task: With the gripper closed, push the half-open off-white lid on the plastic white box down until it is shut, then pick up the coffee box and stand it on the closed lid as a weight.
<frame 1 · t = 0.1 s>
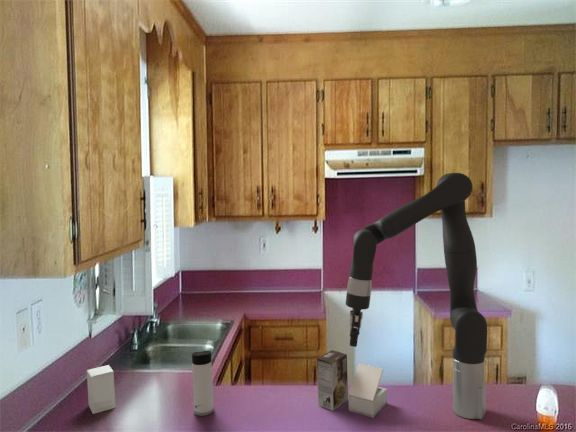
hand: (353, 341, 141), 22 cm above the worktop, tool pointing down, fingers open, 8 cm apart
travel mug: (204, 412, 144), on the worktop
white box: (368, 407, 144), on the worktop
duct lid: (365, 381, 142), point 9 cm above the worktop, hinge at 40.0°
coffee box: (333, 403, 147), on the worktop
supplement box: (102, 407, 149), on the worktop
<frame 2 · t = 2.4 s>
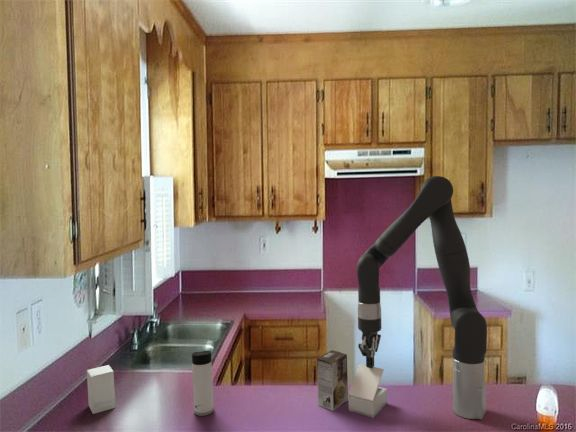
hand: (370, 366, 145), 13 cm above the worktop, tool pointing down, fingers closed
duct lid: (365, 381, 142), point 9 cm above the worktop, hinge at 38.6°, touching gripper
everything else where it was.
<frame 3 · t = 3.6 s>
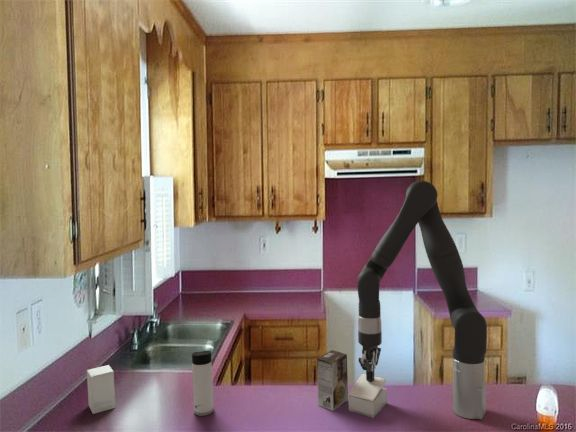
hand: (370, 380, 145), 8 cm above the worktop, tool pointing down, fingers closed
duct lid: (367, 386, 143), point 7 cm above the worktop, hinge at 13.2°, touching gripper
everything else where it was.
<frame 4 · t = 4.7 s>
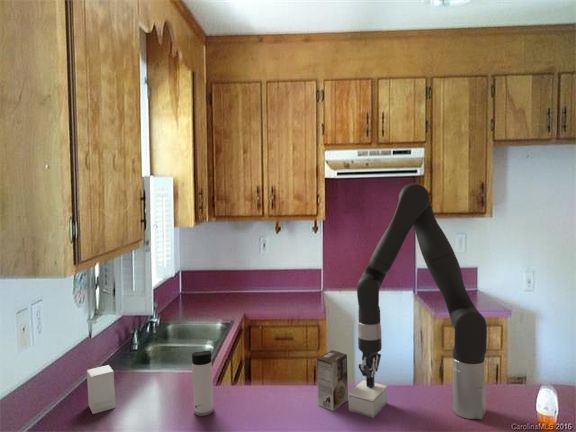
hand: (370, 386, 145), 6 cm above the worktop, tool pointing down, fingers closed
duct lid: (367, 390, 143), point 6 cm above the worktop, hinge at 0.3°, touching gripper
everything else where it was.
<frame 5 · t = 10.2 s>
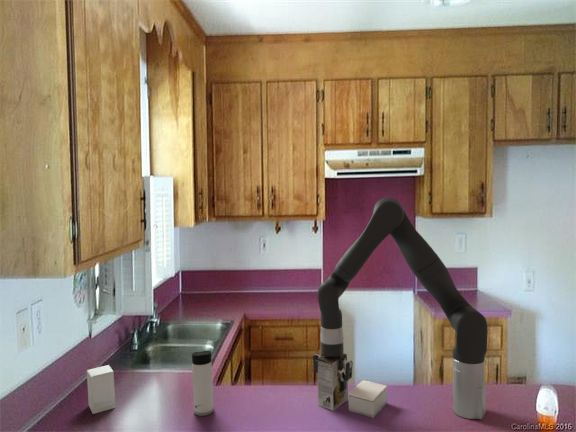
hand: (332, 388, 147), 5 cm above the worktop, tool pointing down, fingers closed on coffee box, 6 cm apart
duct lid: (367, 390, 143), point 6 cm above the worktop, hinge at 0.2°
coffee box: (333, 403, 147), on the worktop, touching gripper
everything else where it was.
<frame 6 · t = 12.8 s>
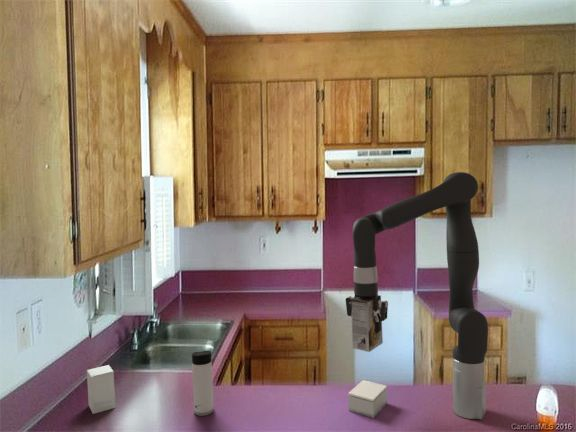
hand: (367, 330, 142), 25 cm above the worktop, tool pointing down, fingers closed on coffee box, 6 cm apart
coffee box: (367, 346, 143), point 20 cm above the worktop, touching gripper
everything else where it was.
when the fingers open (12 cm above the worktop, at t = 15.9 s): coffee box drops 1 cm, resting on duct lid.
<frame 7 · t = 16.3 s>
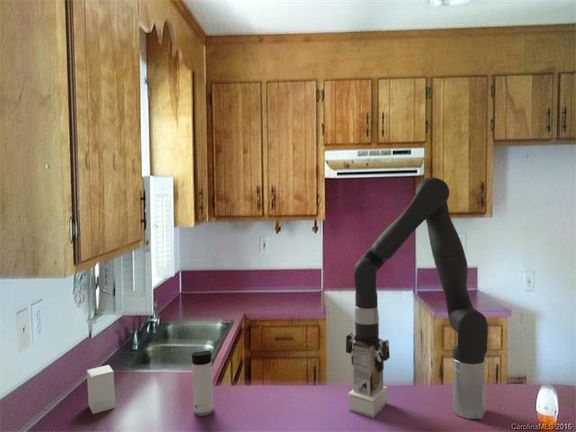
hand: (367, 369, 143), 13 cm above the worktop, tool pointing down, fingers open, 8 cm apart
duct lid: (367, 390, 143), point 5 cm above the worktop, hinge at -1.4°, touching coffee box
coffee box: (368, 390, 143), point 6 cm above the worktop, touching duct lid
everything else where it was.
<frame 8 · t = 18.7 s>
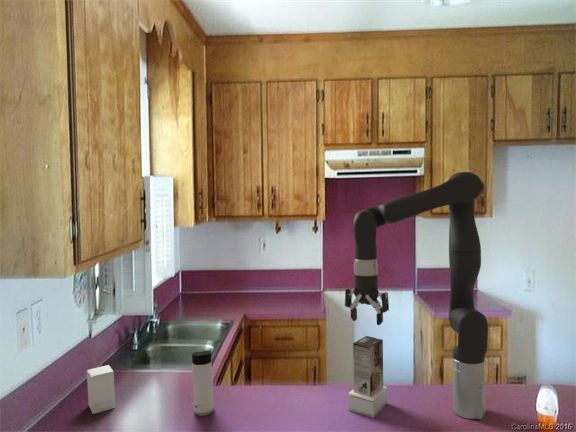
hand: (366, 322, 142), 28 cm above the worktop, tool pointing down, fingers open, 8 cm apart
nothing on the worktop moved.
at the end: duct lid at -2° (first picture: +40°); coffee box 0.1 cm off-centre on the white box, point 5.6 cm above the white box's base; coffee box tilted 1° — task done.
